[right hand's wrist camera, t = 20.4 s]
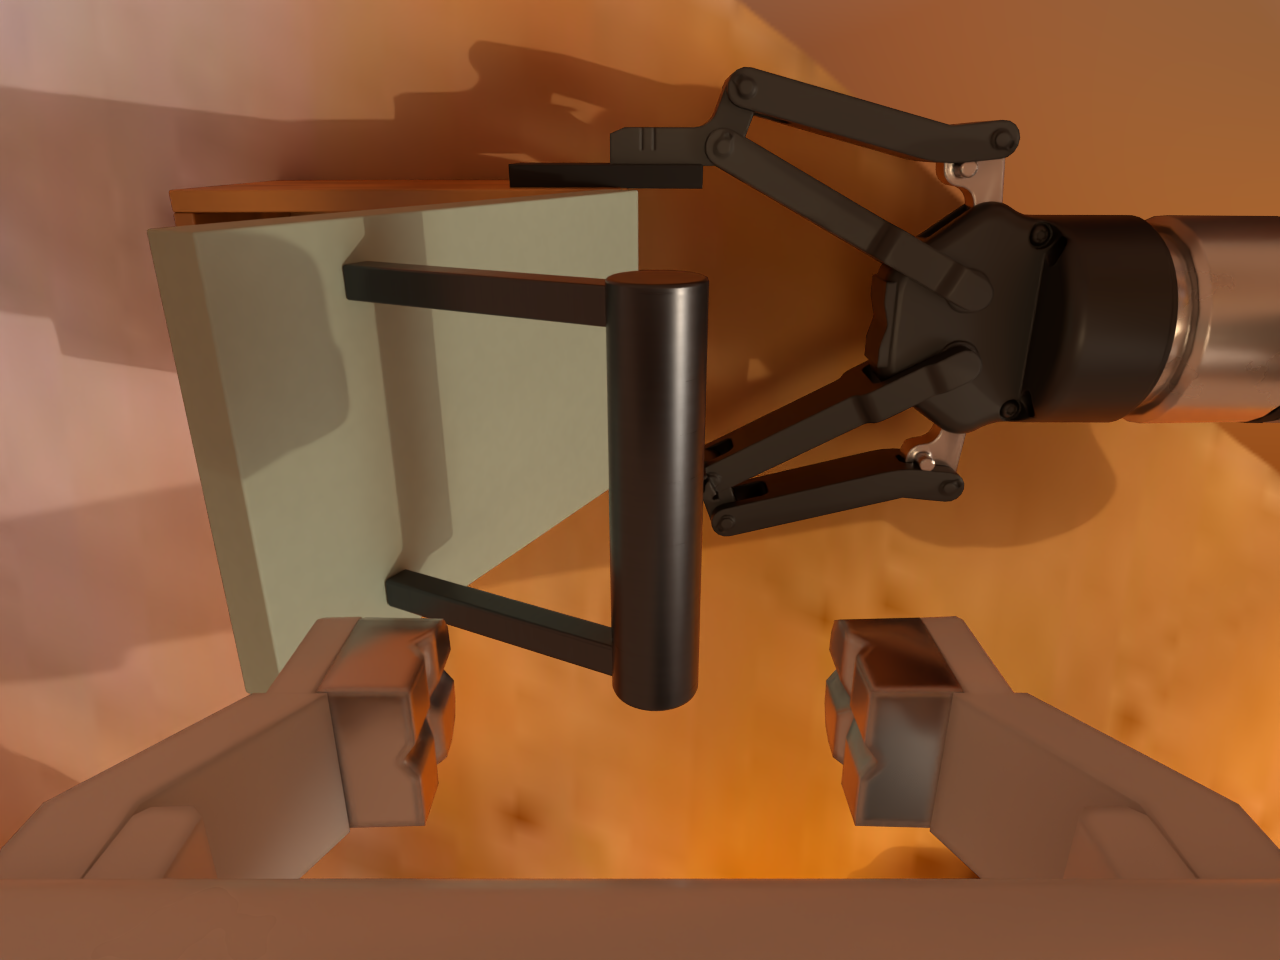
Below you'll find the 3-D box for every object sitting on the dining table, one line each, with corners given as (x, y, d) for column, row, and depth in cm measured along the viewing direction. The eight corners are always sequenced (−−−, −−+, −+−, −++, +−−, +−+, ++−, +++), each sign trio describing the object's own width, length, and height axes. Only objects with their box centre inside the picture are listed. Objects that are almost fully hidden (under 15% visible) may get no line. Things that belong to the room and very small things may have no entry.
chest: (309, 394, 39) (221, 459, 31) (276, 180, 35) (167, 190, 27) (629, 394, 39) (624, 459, 31) (627, 179, 35) (621, 188, 27)
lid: (245, 693, 18) (609, 844, 14) (145, 229, 14) (596, 257, 10) (609, 462, 30) (850, 507, 26) (604, 188, 27) (882, 195, 23)
